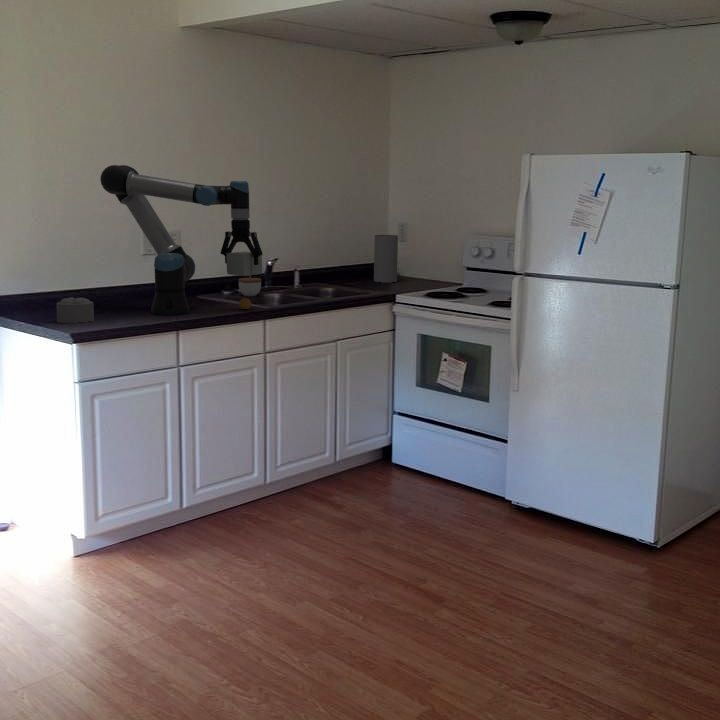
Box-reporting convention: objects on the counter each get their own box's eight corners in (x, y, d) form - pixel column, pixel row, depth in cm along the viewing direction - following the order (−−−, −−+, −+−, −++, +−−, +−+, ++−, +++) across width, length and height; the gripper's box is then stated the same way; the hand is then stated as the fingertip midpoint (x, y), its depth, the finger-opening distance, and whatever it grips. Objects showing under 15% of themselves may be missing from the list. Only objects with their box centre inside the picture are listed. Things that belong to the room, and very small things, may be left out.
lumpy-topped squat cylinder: (96, 321, 340) (95, 298, 338) (62, 324, 332) (61, 301, 330) (86, 318, 348) (85, 295, 346) (52, 320, 340) (51, 298, 338)
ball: (255, 304, 377) (248, 313, 374) (245, 303, 379) (239, 311, 377) (251, 296, 373) (244, 304, 371) (241, 294, 376) (235, 302, 373)
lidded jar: (234, 296, 420) (234, 275, 418) (245, 293, 429) (245, 273, 428) (254, 297, 416) (254, 277, 414) (265, 294, 426) (265, 275, 424)
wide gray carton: (243, 275, 367) (243, 254, 365) (227, 274, 374) (226, 253, 372) (262, 273, 375) (261, 252, 373) (245, 272, 381) (245, 251, 379)
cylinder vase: (401, 282, 489) (402, 235, 484) (386, 283, 480) (387, 236, 475) (384, 280, 497) (385, 234, 492) (369, 281, 488) (369, 235, 483)
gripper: (270, 219, 367) (271, 272, 371) (220, 218, 377) (222, 270, 381) (260, 220, 360) (262, 274, 365) (210, 219, 370) (212, 272, 374)
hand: (241, 272), depth 373 cm, fingers closed on wide gray carton, 11 cm apart
